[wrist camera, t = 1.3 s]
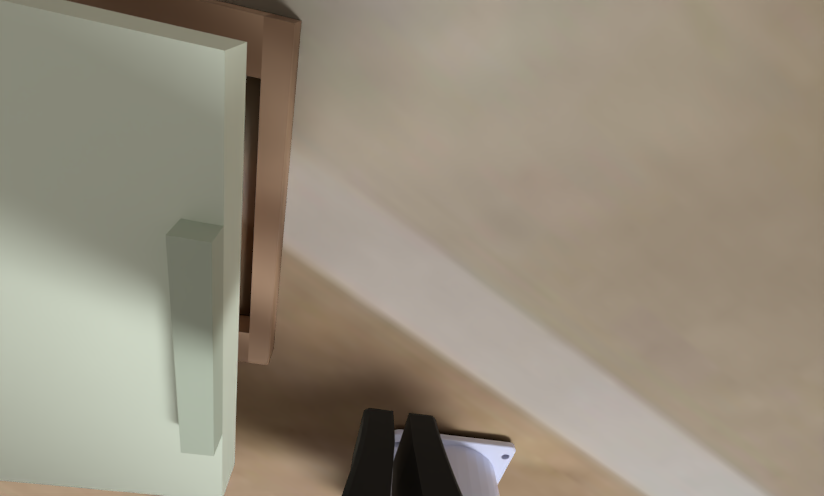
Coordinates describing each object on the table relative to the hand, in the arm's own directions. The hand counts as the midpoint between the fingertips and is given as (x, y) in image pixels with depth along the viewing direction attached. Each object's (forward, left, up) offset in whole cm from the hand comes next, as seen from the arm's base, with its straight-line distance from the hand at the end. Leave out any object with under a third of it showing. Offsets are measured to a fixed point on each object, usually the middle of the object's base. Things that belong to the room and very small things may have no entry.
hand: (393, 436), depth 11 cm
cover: (0, +10, -4) cm, 11 cm away
